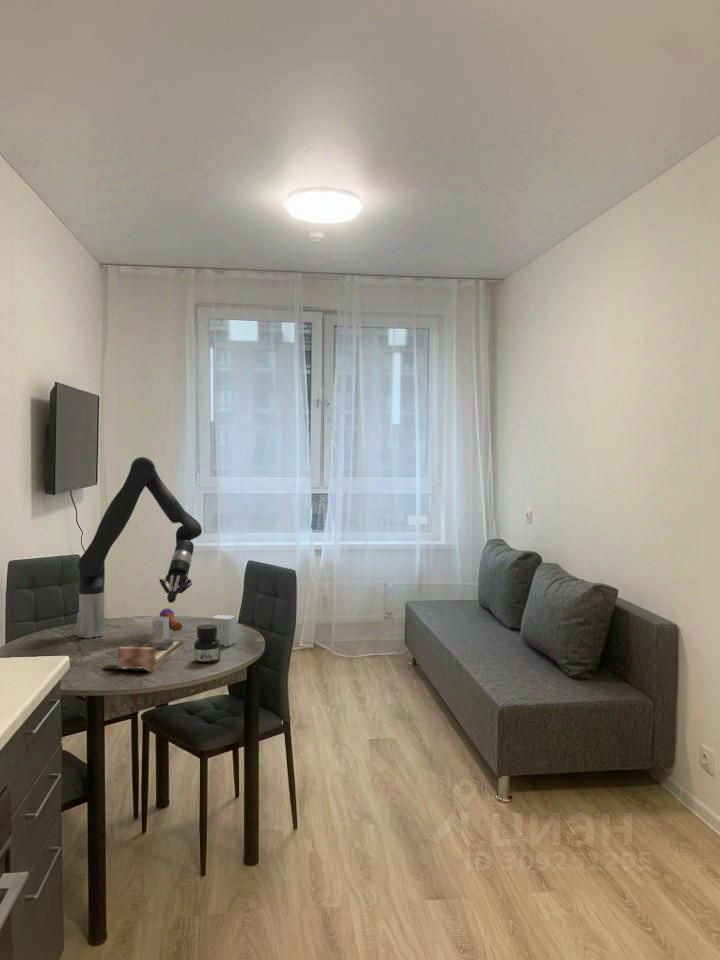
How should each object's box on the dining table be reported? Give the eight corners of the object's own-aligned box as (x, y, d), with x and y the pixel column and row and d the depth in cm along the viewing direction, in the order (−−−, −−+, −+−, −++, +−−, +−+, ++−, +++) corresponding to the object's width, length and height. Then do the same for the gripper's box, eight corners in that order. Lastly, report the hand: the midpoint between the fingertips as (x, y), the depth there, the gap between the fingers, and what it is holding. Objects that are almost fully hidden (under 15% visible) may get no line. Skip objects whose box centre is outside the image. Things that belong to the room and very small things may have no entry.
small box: (236, 643, 273) (236, 615, 273) (229, 647, 268) (229, 619, 267) (218, 641, 276) (218, 614, 275) (210, 645, 270) (210, 617, 270)
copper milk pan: (118, 670, 238) (117, 648, 237) (152, 645, 269) (152, 625, 269) (153, 671, 237) (153, 649, 236) (184, 646, 269) (184, 626, 268)
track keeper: (148, 648, 258) (148, 620, 258) (154, 644, 264) (154, 616, 264) (167, 649, 258) (167, 620, 257) (173, 644, 264) (173, 616, 263)
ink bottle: (190, 664, 245) (190, 629, 245) (196, 657, 254) (195, 623, 254) (218, 664, 245) (218, 629, 245) (223, 657, 254) (223, 623, 254)
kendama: (169, 622, 291) (156, 609, 308) (172, 635, 292) (159, 622, 309) (183, 617, 294) (170, 605, 311) (186, 631, 295) (172, 618, 312)
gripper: (161, 558, 280) (150, 595, 269) (194, 558, 279) (185, 596, 268) (166, 569, 286) (156, 606, 274) (199, 569, 285) (190, 607, 273)
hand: (170, 601), depth 271 cm, fingers closed
